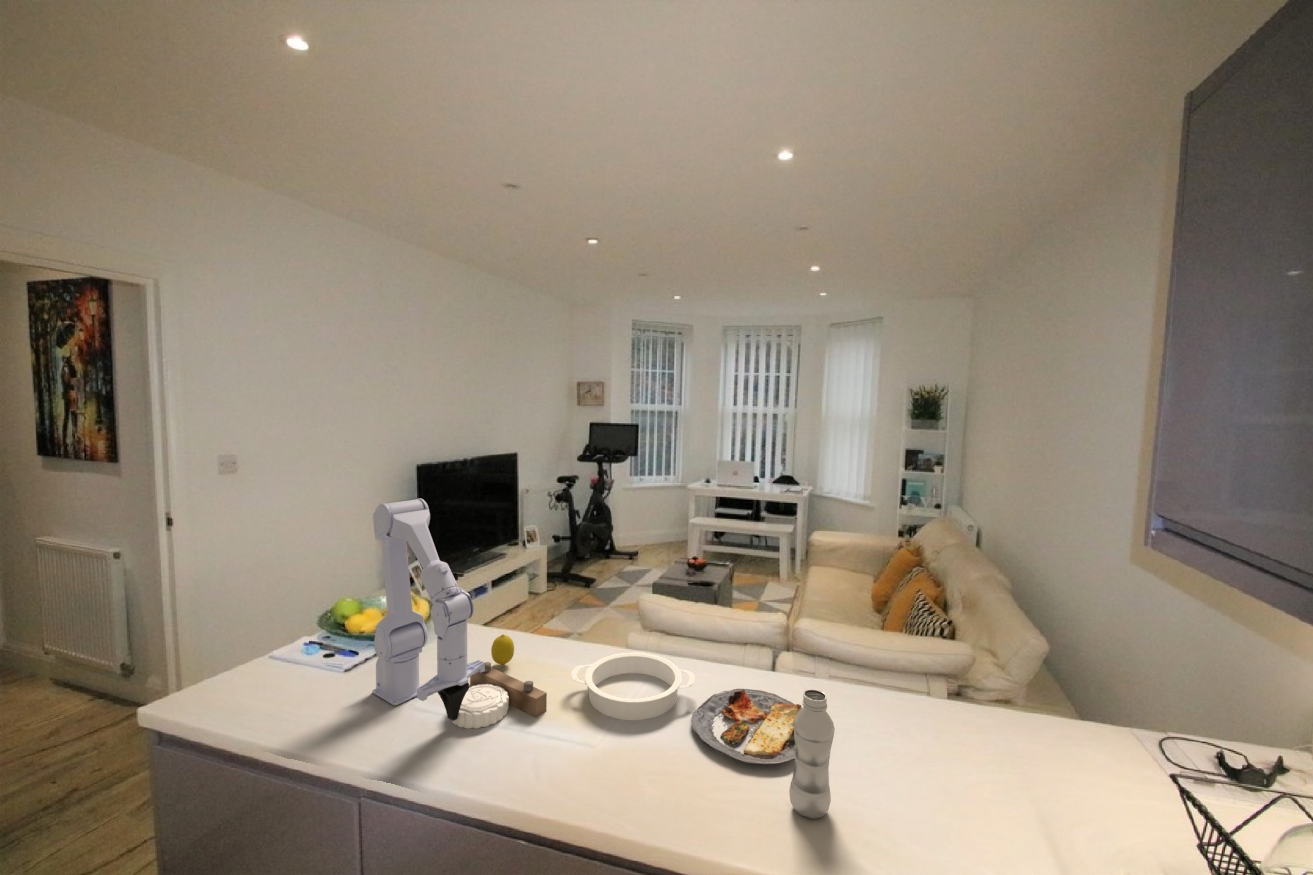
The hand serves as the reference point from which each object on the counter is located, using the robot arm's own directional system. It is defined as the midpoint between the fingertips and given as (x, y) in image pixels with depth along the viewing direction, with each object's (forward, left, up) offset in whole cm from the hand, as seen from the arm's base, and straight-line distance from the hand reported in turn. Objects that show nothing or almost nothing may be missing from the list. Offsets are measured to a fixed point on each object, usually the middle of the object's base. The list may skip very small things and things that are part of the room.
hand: (452, 718), depth 111 cm
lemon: (-12, +23, -2) cm, 26 cm away
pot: (+22, +32, -2) cm, 39 cm away
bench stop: (0, +14, -2) cm, 14 cm away
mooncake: (0, +7, -2) cm, 7 cm away
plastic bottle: (+67, +21, -2) cm, 70 cm away
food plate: (+50, +36, -2) cm, 62 cm away
